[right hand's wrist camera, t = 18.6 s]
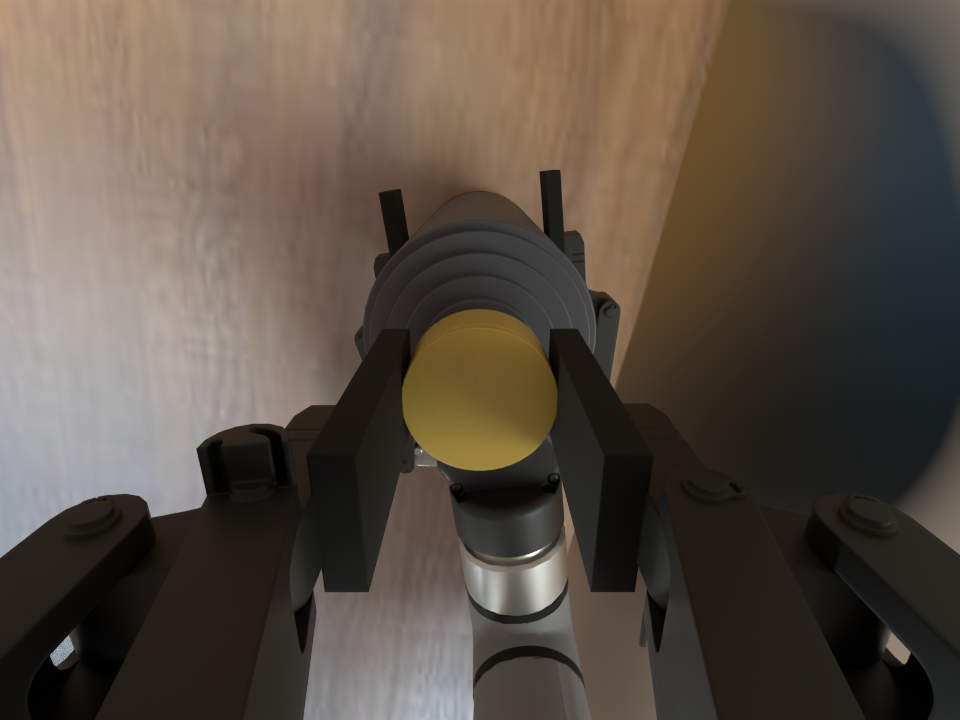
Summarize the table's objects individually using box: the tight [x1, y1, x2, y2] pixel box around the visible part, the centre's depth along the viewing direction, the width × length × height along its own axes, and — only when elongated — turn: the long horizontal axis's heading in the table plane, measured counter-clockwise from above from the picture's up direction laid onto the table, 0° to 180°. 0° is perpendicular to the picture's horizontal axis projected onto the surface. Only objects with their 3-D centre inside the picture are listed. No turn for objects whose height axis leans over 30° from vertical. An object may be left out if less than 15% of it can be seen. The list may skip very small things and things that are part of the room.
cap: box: [402, 309, 558, 470], centre depth 13 cm, size 4×4×2 cm
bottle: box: [363, 191, 596, 358], centre depth 24 cm, size 8×8×24 cm
